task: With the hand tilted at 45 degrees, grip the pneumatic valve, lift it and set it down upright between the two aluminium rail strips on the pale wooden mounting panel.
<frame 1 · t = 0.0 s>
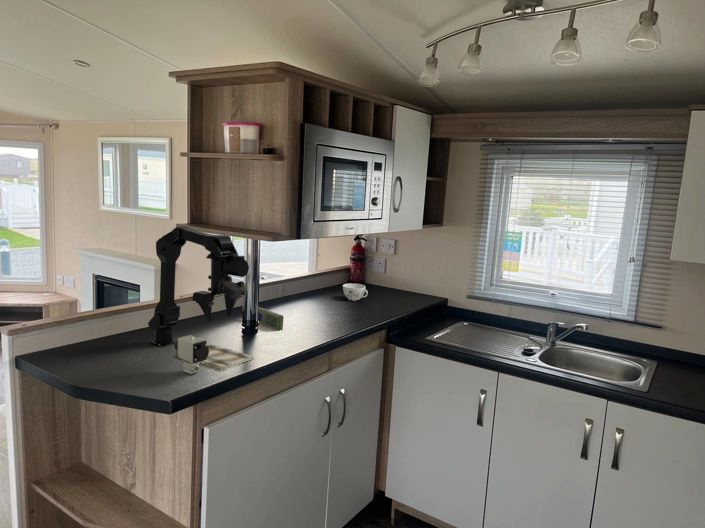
hand: (219, 318, 172), 15 cm above the counter, tool pointing down, fingers open, 9 cm apart
teacup: (355, 300, 277), on the counter
mounting panel: (215, 357, 176), on the counter
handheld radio: (263, 324, 221), on the counter
pneumatic valve: (192, 372, 162), on the counter
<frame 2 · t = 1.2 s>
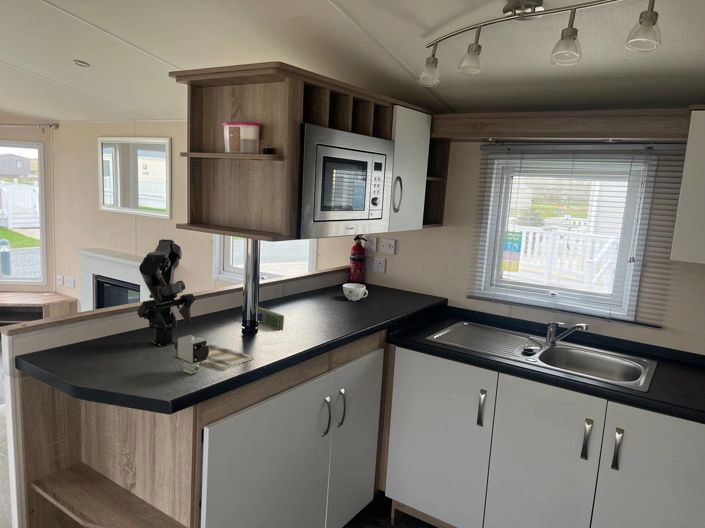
hand: (178, 326, 164), 13 cm above the counter, tool tilted 45°, fingers open, 9 cm apart
nothing on the counter moved.
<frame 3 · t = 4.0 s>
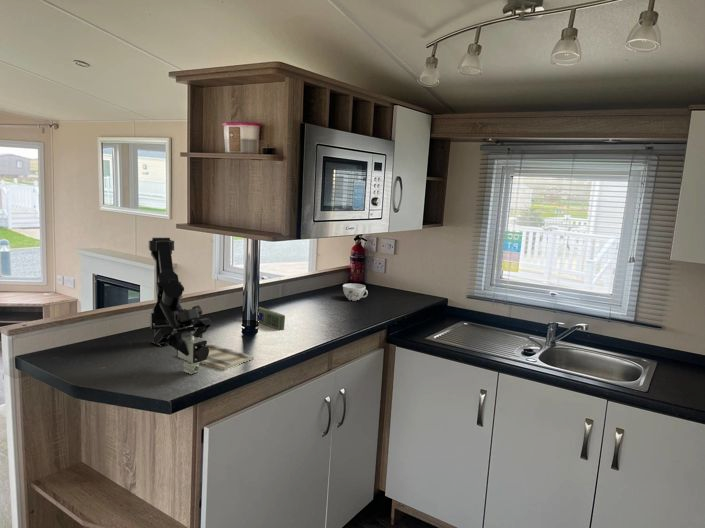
hand: (195, 353, 160), 7 cm above the counter, tool tilted 45°, fingers closed on pneumatic valve, 5 cm apart
pneumatic valve: (192, 372, 162), on the counter, touching gripper
everything else where it was.
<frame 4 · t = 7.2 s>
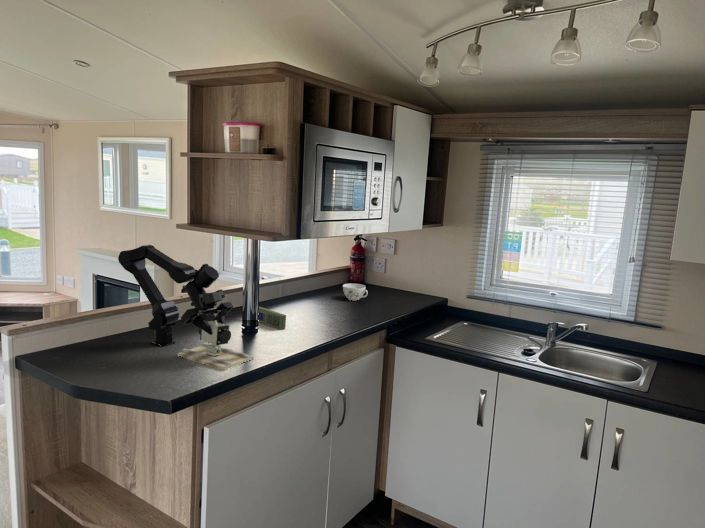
hand: (218, 333, 174), 9 cm above the counter, tool tilted 45°, fingers closed on pneumatic valve, 5 cm apart
pneumatic valve: (213, 355, 175), point 1 cm above the counter, touching gripper, mounting panel
everything else where it was.
when the fingers open (9 cm above the counter, at t = 8.0 s): pneumatic valve stays where it is, resting on mounting panel.
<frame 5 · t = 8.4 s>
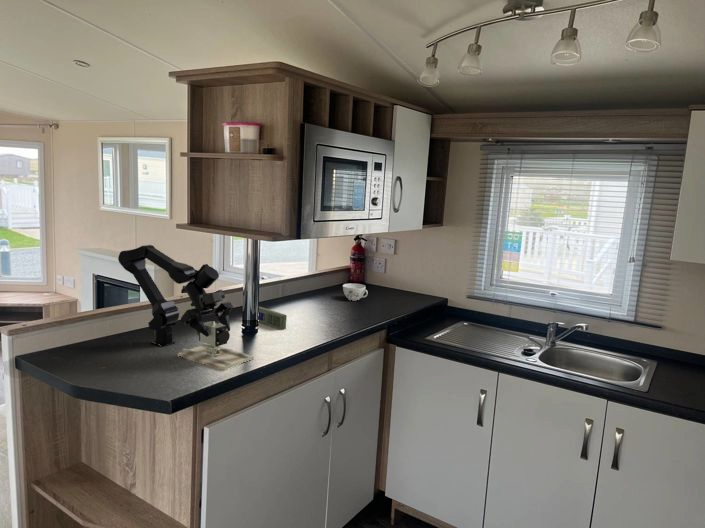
hand: (218, 333, 174), 9 cm above the counter, tool tilted 45°, fingers open, 9 cm apart
pneumatic valve: (213, 355, 175), point 1 cm above the counter, touching mounting panel
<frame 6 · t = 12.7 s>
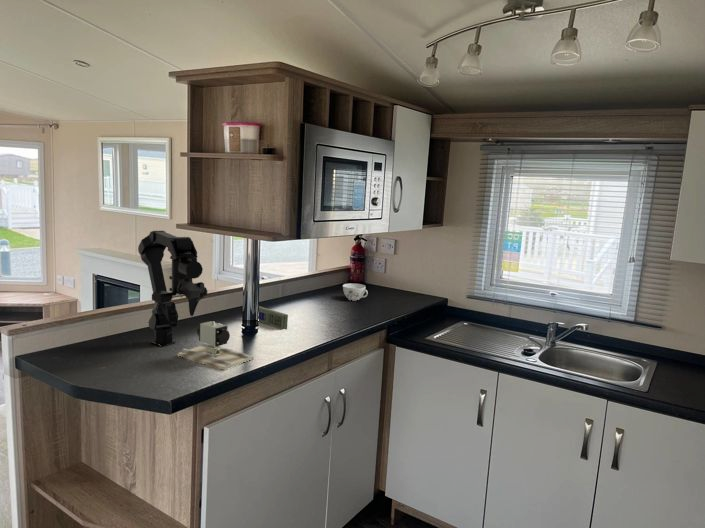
hand: (180, 318, 175), 13 cm above the counter, tool pointing down, fingers open, 9 cm apart
at the end: pneumatic valve inside the target area on the mounting panel (0.9 cm from its centre), point 1.0 cm above the mounting panel's base; pneumatic valve tilted 0°; the gripper is holding nothing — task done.
